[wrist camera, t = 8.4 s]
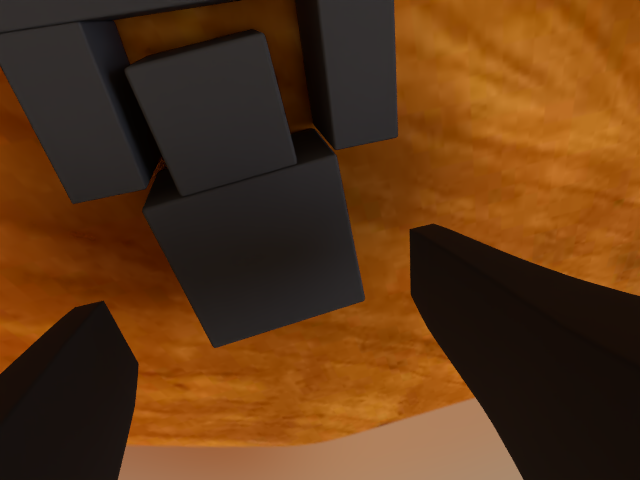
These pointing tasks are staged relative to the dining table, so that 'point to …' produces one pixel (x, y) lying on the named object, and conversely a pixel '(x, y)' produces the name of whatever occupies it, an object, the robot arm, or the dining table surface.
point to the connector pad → (242, 191)
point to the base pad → (123, 108)
